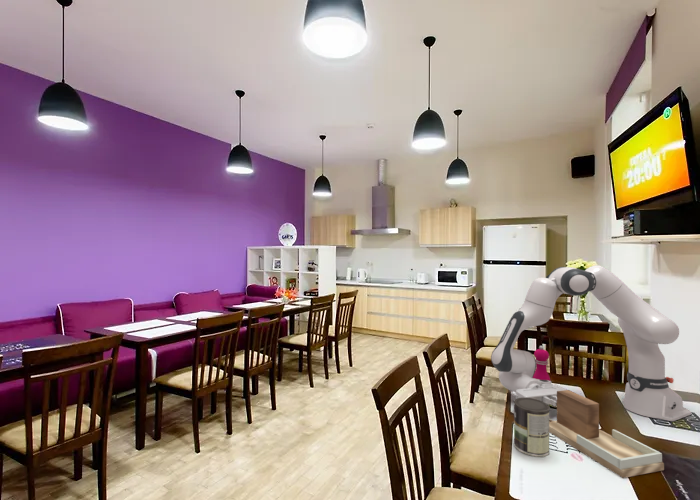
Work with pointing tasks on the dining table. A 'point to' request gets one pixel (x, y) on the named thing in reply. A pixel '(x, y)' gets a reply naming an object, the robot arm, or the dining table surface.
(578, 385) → the dining table surface
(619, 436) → the sage frame
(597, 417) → the walnut box
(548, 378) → the pepper mill
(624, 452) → the birch board
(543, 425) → the coffee can
